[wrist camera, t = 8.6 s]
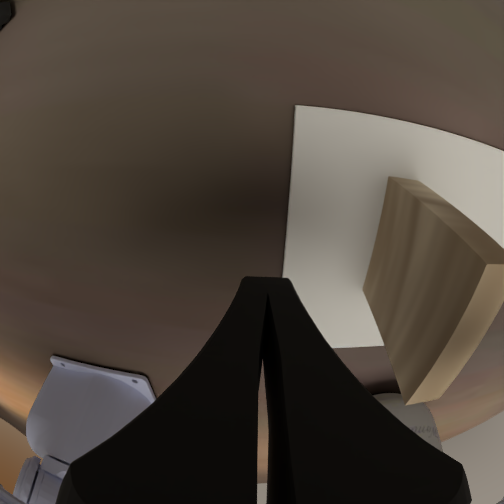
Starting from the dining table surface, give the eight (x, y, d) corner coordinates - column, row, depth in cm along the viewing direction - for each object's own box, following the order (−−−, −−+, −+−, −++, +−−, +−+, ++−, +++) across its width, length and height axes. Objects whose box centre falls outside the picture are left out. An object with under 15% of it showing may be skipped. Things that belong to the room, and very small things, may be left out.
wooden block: (362, 289, 14) (404, 405, 8) (388, 176, 11) (486, 264, 5) (389, 289, 14) (438, 398, 8) (418, 180, 11) (520, 265, 5)
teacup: (426, 408, 23) (445, 473, 16) (330, 443, 26) (337, 508, 19) (411, 335, 17) (451, 437, 10) (268, 391, 20) (268, 491, 13)
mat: (274, 343, 17) (275, 347, 17) (295, 104, 10) (295, 105, 10) (461, 333, 17) (463, 336, 16) (525, 160, 10) (529, 162, 10)
